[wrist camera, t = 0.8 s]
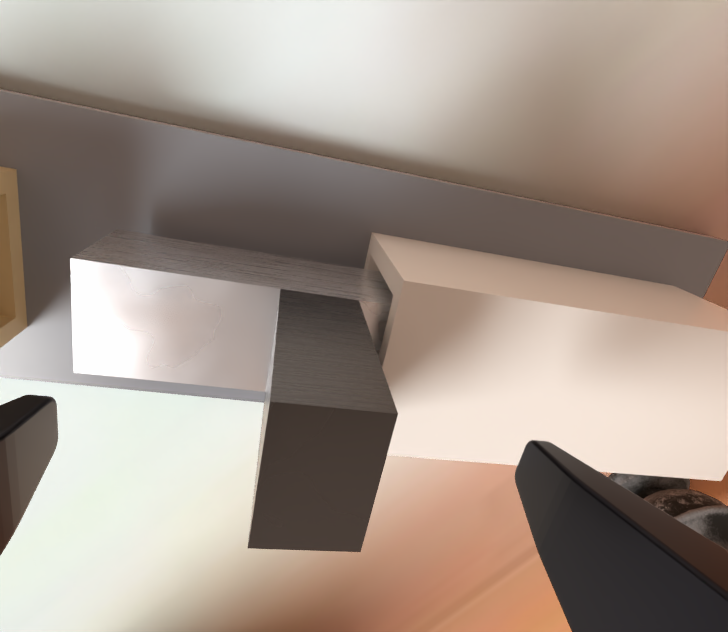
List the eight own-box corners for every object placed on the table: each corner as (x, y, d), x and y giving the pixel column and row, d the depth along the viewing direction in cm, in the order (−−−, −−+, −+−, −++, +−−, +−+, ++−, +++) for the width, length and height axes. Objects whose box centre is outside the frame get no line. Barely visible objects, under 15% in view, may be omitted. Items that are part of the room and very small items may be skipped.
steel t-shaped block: (593, 382, 18) (801, 566, 10) (116, 323, 14) (-72, 537, 7) (624, 310, 17) (881, 460, 9) (116, 229, 13) (-104, 365, 6)
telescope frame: (618, 424, 21) (728, 528, 16) (-119, 349, 16) (-343, 473, 10) (709, 235, 18) (887, 286, 13) (-178, 51, 12) (-555, -1, 7)
